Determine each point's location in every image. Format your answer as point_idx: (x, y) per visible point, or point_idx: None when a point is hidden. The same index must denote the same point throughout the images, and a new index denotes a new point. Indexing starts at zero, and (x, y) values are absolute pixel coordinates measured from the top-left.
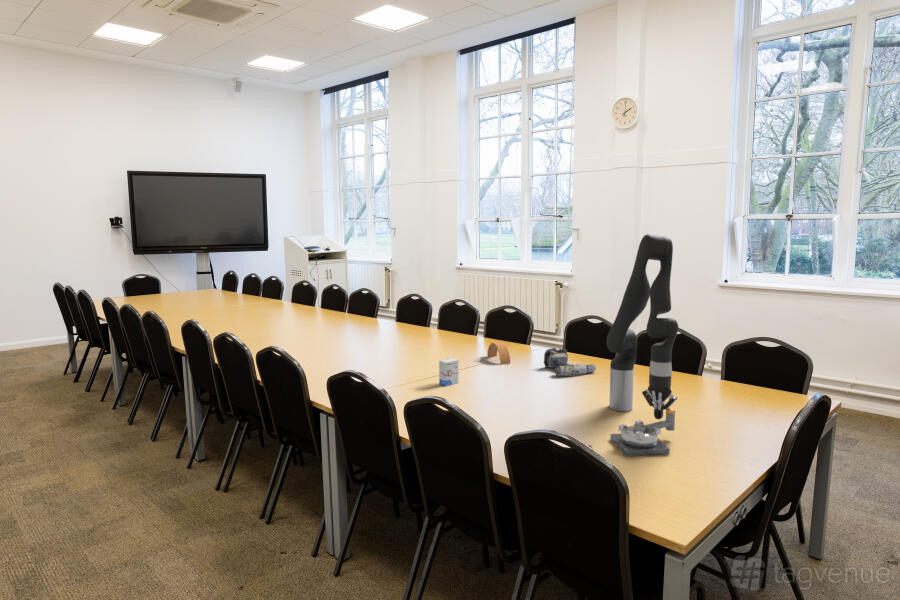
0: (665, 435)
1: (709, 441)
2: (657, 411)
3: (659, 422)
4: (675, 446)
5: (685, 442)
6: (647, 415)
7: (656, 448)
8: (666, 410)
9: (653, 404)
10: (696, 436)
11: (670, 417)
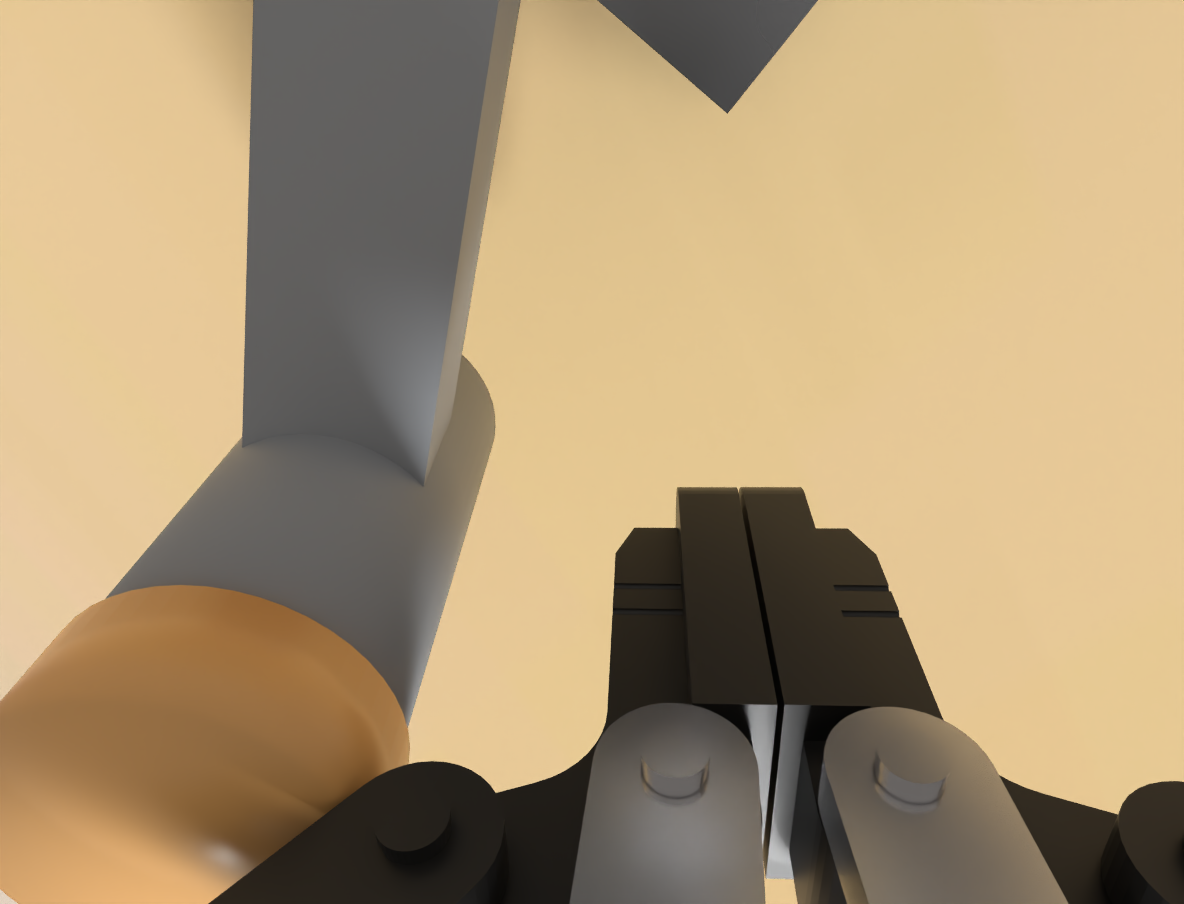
0: (574, 411)
1: (12, 626)
2: (756, 648)
3: (404, 104)
4: (97, 14)
5: (155, 357)
6: None
7: None
8: (240, 707)
9: (1062, 892)
10: None
11: (173, 528)
